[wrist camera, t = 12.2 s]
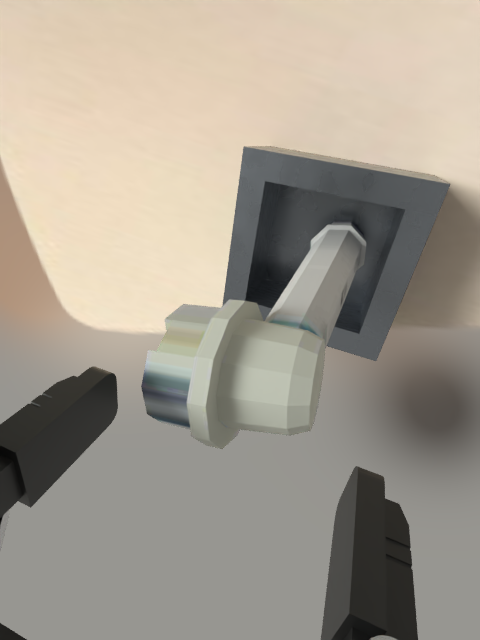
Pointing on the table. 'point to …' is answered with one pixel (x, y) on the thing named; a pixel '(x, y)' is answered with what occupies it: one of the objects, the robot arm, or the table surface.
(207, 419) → the light grey piece
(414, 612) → the robot arm
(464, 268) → the table surface
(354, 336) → the open box
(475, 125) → the table surface
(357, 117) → the table surface
